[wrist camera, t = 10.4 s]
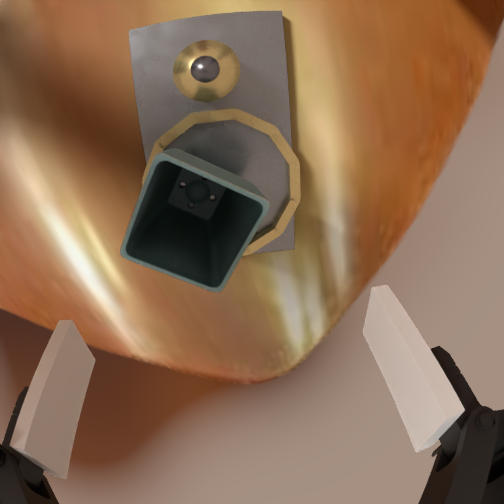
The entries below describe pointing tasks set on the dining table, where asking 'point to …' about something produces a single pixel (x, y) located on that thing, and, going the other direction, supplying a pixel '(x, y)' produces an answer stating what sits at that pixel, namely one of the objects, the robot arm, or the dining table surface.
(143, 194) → the flower pot
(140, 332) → the dining table surface
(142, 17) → the dining table surface
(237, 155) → the board
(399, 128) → the dining table surface
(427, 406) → the robot arm
